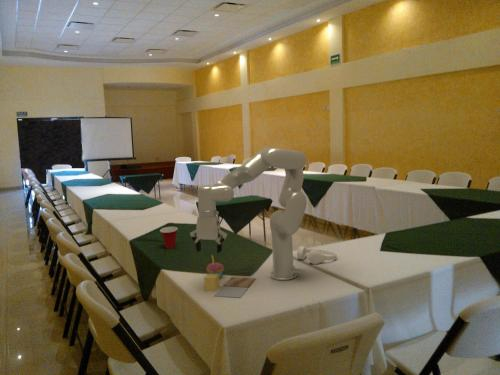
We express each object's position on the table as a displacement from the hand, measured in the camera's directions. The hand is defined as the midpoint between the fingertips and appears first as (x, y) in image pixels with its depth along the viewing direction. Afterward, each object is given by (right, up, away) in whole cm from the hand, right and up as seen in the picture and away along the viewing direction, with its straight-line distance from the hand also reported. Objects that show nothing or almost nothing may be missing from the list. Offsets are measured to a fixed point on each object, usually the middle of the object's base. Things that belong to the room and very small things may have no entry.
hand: (209, 251), depth 186 cm
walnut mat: (+14, -16, +8) cm, 22 cm away
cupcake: (+1, -15, +17) cm, 23 cm away
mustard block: (+1, -17, +2) cm, 17 cm away
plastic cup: (-31, -9, +74) cm, 81 cm away
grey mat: (+10, -17, -3) cm, 20 cm away
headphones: (+54, -10, +38) cm, 67 cm away
